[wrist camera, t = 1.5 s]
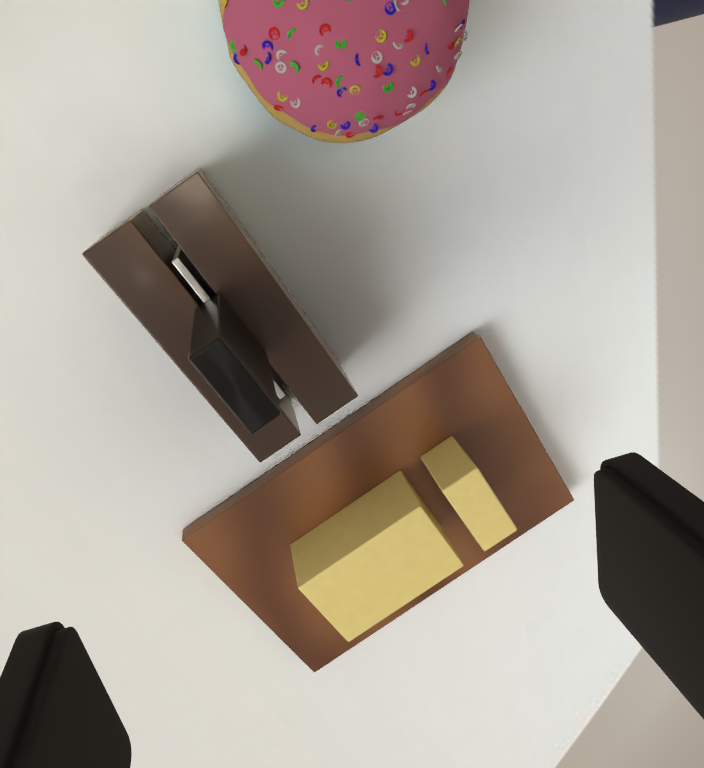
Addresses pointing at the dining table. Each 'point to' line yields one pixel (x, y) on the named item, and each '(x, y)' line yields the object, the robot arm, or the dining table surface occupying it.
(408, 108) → the cupcake
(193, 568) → the dining table surface
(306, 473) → the board
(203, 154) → the dining table surface
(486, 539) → the butter slice
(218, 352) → the knife
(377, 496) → the butter
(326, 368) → the knife block
